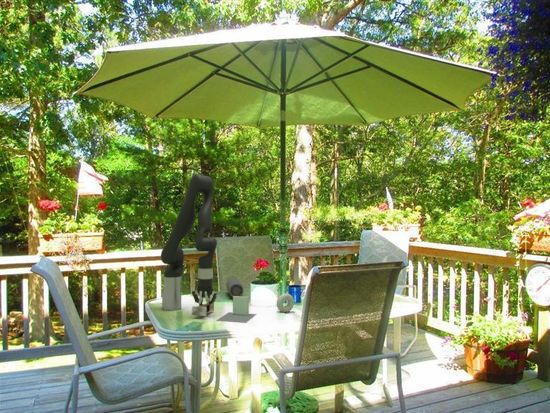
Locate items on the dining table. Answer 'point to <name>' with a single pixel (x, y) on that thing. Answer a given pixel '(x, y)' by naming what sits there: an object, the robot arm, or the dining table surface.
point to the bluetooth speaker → (234, 287)
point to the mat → (236, 318)
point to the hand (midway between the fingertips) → (204, 311)
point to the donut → (281, 300)
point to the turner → (202, 310)
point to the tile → (240, 305)
